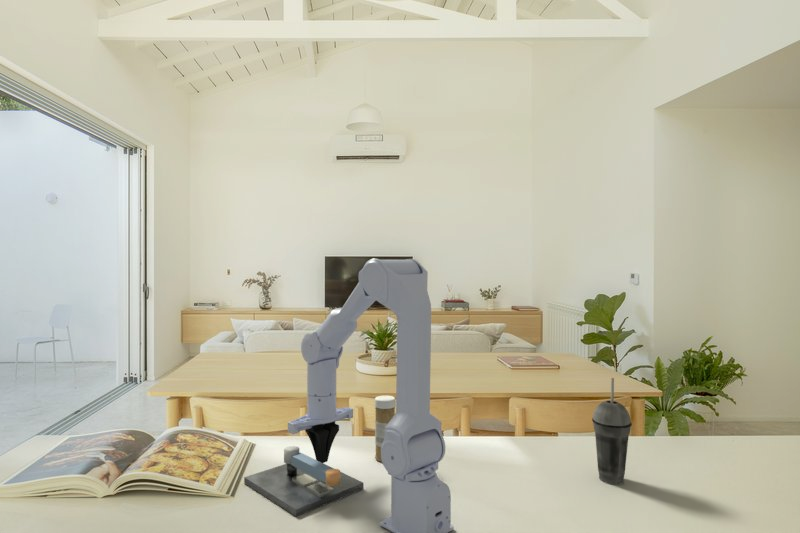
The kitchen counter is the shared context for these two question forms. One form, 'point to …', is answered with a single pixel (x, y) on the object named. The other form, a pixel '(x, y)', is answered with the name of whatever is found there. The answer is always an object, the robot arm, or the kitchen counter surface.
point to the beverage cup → (611, 439)
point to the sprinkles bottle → (382, 420)
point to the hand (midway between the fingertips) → (321, 461)
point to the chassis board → (299, 488)
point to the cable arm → (311, 466)
